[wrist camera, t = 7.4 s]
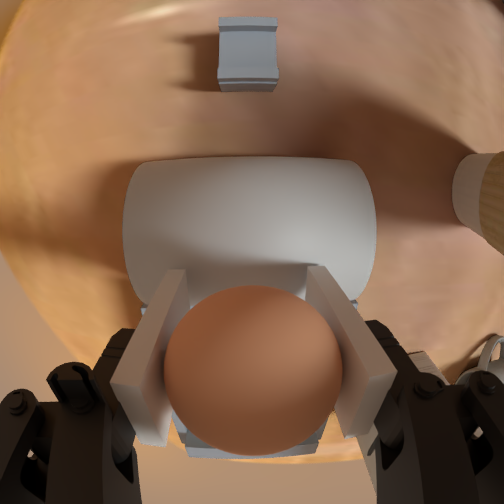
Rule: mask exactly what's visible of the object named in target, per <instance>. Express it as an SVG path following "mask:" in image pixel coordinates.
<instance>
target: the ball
mask: <svg viewBox="0 0 504 504" xmlns="http://www.w3.org/2000/svg"><path fill="white" fill-rule="evenodd" d="M342 374H343V365H342V357H341V352H340V348H339V345H338V342H337V340H336V337H335V335H334V333H333V331H332V329H331V328H330V326H329V325H328V323H327V322H326V320H325V319H324V318H323V317H322V316H321V314H320V313H319V312H318V311H317V310H316V309H315V308H314V307H312V306H311V305H310V304H309V303H307V302H306V301H304V300H303V299H301V298H299V297H298V296H296V295H294V294H292V293H290V292H287V291H285V290H282V289H278V288H274V287H269V286H262V285H246V286H238V287H233V288H228V289H225V290H222V291H219V292H217V293H214V294H212V295H210V296H208V297H207V298H205V299H203V300H202V301H200V302H199V303H198V304H196V305H195V306H194V307H193V308H192V309H190V310H189V311H188V312H187V313H186V315H185V316H184V317H183V318H182V319H181V321H180V322H179V323H178V325H177V326H176V328H175V329H174V331H173V333H172V335H171V338H170V340H169V343H168V345H167V349H166V353H165V358H164V383H165V388H166V393H167V396H168V398H169V401H170V403H171V406H172V408H173V410H174V412H175V413H176V415H177V416H178V418H179V419H180V421H181V422H182V423H183V424H184V426H185V427H186V428H187V429H188V430H189V431H190V432H191V433H192V434H193V435H195V436H196V437H197V438H199V439H200V440H202V441H203V442H205V443H206V444H208V445H210V446H212V447H214V448H216V449H219V450H222V451H224V452H227V453H231V454H236V455H242V456H263V455H270V454H275V453H279V452H282V451H285V450H288V449H290V448H292V447H294V446H296V445H298V444H300V443H301V442H303V441H305V440H306V439H307V438H309V437H310V436H311V435H312V434H313V433H315V432H316V431H317V430H318V429H319V428H320V427H321V426H322V424H323V423H324V422H325V421H326V419H327V418H328V417H329V415H330V413H331V412H332V410H333V408H334V406H335V404H336V401H337V399H338V396H339V393H340V389H341V384H342Z"/></svg>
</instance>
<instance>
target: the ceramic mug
mask: <svg viewBox="0 0 504 504" xmlns="http://www.w3.org/2000/svg"><path fill="white" fill-rule="evenodd" d="M497 342H499V343H500V344H501V349H500V357H499V359H498V360H494V361H491V362H489V359H490V356H491V353H492V351H493V349H494V347H495V345H496V343H497ZM488 362H489V363H488ZM480 370H484V371H489V372H491V373H493V374H495V375H496V376H497V377H498V378H499V379H500V380H501V381H502V383H503V384H504V336H499V335H495V336H492V337H491V338H490V339H489V340H488V341H487V343H486V344H485V346H484V348H483V350H482V353H481V356H480V359H479V363H478V366H477V367H475V368H472V369H469V370H467V371H465V372H464V373H462V374H461V375H460V377H459V378H458V379H457V381H456V383H455V385H460V384H466V383H467V381H468V379H469V377H470V375H471V374H472V373H474V372H475V371H480Z"/></svg>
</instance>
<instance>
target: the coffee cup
mask: <svg viewBox="0 0 504 504" xmlns="http://www.w3.org/2000/svg"><path fill="white" fill-rule="evenodd" d="M452 202H453V207H454V211H455V213H456V215H457V217H458V219H459V220H460V222H461V223H462V224H464V225H465V226H467V227H468V228H470V229H471V230H473V231H474V232H476V233H477V234H478V235H480V236H481V237H483V238H484V239H485V240H486V241H487V242H488V243H489V244H490V245H491V246H492V247H494V248H495V249H496V250H497V251H499V252H500V253H501V254H503V255H504V151H502V152H499V153H486V154H470V155H468V156H466V157H465V158H464V159H462V161H461V162H460V163H459V165H458V167H457V169H456V172H455V175H454V178H453V183H452Z"/></svg>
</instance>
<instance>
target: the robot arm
mask: <svg viewBox="0 0 504 504" xmlns="http://www.w3.org/2000/svg"><path fill="white" fill-rule="evenodd" d="M305 301H306V302H307V303H309V304H310V305H311V306H312V307H314V308H315V309H316V310H317V311H318V312H319V313H320V314H321V316H322V317H323V318H324V319H325V320H326V322H327V323H328V325H329V326H330V328H331V329H332V331H333V333H334V335H335V337H336V340H337V342H338V345H339V348H340V352H341V357H342V365H343V374H342V384H341V389H340V393H339V396H338V399H337V401H336V404H335V406H334V409H335V412H336V415H337V418H338V421H339V424H340V427H341V430H342V433H343V435H344V438H345V439H348V438H352V437H357V436H361V435H365V434H368V433H369V431H370V429H371V427H372V425H373V424H374V425H375V427H376V429H377V431H378V435H377V436H376V438H375V440H374V441H373V443H372V445H371V446H370V448H369V450H368V454H367V456H371V454H372V453H373V451H374V450H375V457H376V480H377V504H504V384H503V383H502V381H501V380H500V379H499V378H498V377H497V376H496V375H495V374H493V373H491V372H489V371H484V370H480V371H475V372H474V373H472V374H471V375H470V377H469V379H468V381H467V383H466V384H460V385H445V383H444V381H443V380H442V379H440V378H439V377H438V376H436V375H434V374H431V373H427V372H420V371H419V370H418V368H417V367H416V366H415V364H414V363H413V361H412V360H411V359H410V357H409V356H408V354H407V353H406V352H405V350H404V349H403V348H402V346H400V345H399V342H398V341H397V340H396V338H394V336H393V334H392V333H391V332H390V330H389V329H388V328H387V327H386V326H385V325H383V324H382V323H380V322H379V321H377V320H370V321H364V320H363V319H362V317H361V316H360V314H359V313H358V311H357V310H356V309H355V307H354V306H353V304H352V303H351V301H350V300H349V299H348V297H347V296H346V294H345V293H344V292H343V290H342V289H341V287H340V286H339V285H338V283H337V282H336V280H335V279H334V278H333V276H332V275H331V274H330V272H329V271H328V269H327V268H326V267H325V266H308V268H307V281H306V293H305ZM189 310H190V303H189V295H188V286H187V277H186V269H168V271H167V272H166V274H165V276H164V278H163V279H162V281H161V283H160V285H159V287H158V288H157V290H156V292H155V294H154V296H153V298H152V299H151V301H150V303H149V305H148V307H147V309H146V310H145V312H144V314H143V316H142V318H141V320H140V322H139V324H138V326H137V328H136V329H126V328H122V329H121V330H120V331H118V332H117V333H116V334H114V335H113V336H112V337H111V339H110V341H109V342H108V344H107V346H106V348H105V349H104V351H103V353H102V354H101V355H102V356H101V357H100V358H99V360H98V361H97V363H96V365H95V367H94V369H93V370H91V368H90V367H89V366H87V365H85V364H84V363H80V362H70V363H64V364H62V365H60V366H58V367H56V368H55V369H54V370H53V371H52V372H50V374H49V376H48V377H47V379H46V380H47V382H48V384H49V386H50V388H51V389H52V391H53V393H54V394H55V396H56V397H57V399H58V401H59V402H38V400H37V399H36V397H35V396H34V394H33V393H32V392H31V391H29V390H27V389H17V390H14V391H12V392H10V393H9V394H7V396H6V397H5V398H4V399H3V401H2V402H1V404H0V504H142V500H141V493H140V484H139V476H138V464H137V454H136V451H135V448H134V447H133V442H134V438H135V435H136V436H137V438H138V439H139V441H140V443H141V444H146V445H153V446H161V447H166V443H167V438H168V432H169V427H170V422H171V417H172V412H173V408H172V406H171V403H170V401H169V398H168V396H167V393H166V388H165V383H164V358H165V353H166V349H167V345H168V343H169V340H170V338H171V335H172V333H173V331H174V329H175V328H176V326H177V325H178V323H179V322H180V321H181V319H182V318H183V317H184V316H185V315H186V313H187V312H188V311H189ZM479 427H480V428H481V430H482V432H483V433H482V434H481V436H480V437H477V436H475V435H474V433H475V431H476V430H477V429H478V428H479ZM30 450H31V451H32V452H33V453H34V454H33V455H32V457H28V456H27V455H28V453H29V451H30Z"/></svg>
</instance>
